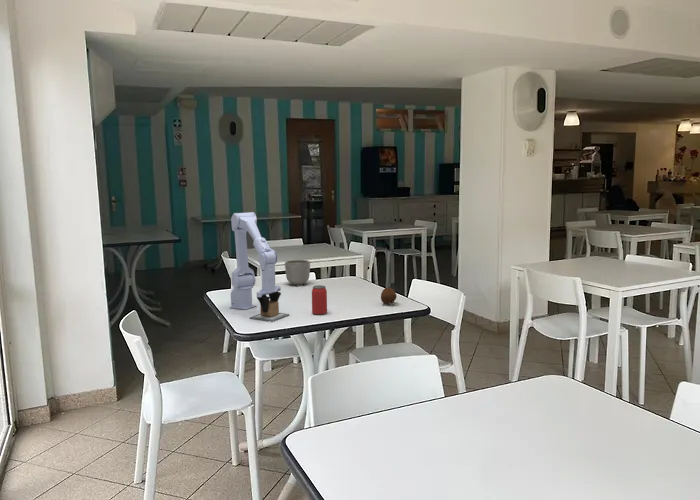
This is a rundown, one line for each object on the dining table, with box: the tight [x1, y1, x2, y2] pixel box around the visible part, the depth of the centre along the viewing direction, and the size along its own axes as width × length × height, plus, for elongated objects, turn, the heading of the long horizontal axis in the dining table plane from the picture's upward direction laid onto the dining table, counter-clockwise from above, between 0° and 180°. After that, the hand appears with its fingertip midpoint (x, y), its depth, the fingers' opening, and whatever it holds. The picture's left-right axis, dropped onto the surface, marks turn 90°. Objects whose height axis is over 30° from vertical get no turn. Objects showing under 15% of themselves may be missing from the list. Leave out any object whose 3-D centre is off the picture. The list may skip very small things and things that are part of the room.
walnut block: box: [259, 299, 280, 317], centre depth 236 cm, size 6×6×6 cm
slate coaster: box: [249, 312, 290, 323], centre depth 236 cm, size 12×12×1 cm
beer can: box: [311, 284, 328, 316], centre depth 241 cm, size 7×7×12 cm
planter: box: [284, 259, 311, 286], centre depth 304 cm, size 14×14×13 cm
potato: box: [380, 287, 397, 305], centre depth 257 cm, size 7×10×8 cm
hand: (269, 310), depth 236 cm, fingers closed on walnut block, 5 cm apart
